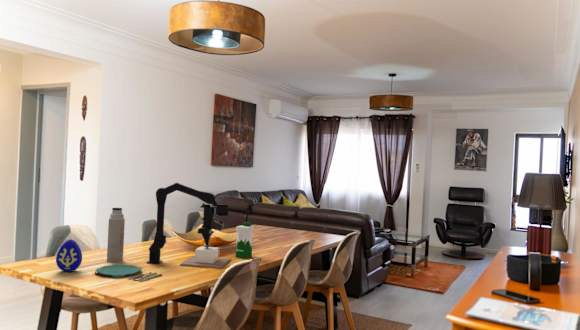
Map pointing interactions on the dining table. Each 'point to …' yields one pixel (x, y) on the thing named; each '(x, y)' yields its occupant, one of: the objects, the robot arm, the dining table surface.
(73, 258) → the ornament
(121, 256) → the thermos bottle
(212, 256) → the white block with hole
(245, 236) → the milk carton
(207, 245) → the plunger
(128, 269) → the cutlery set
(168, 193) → the robot arm
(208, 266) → the board
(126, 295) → the dining table surface
